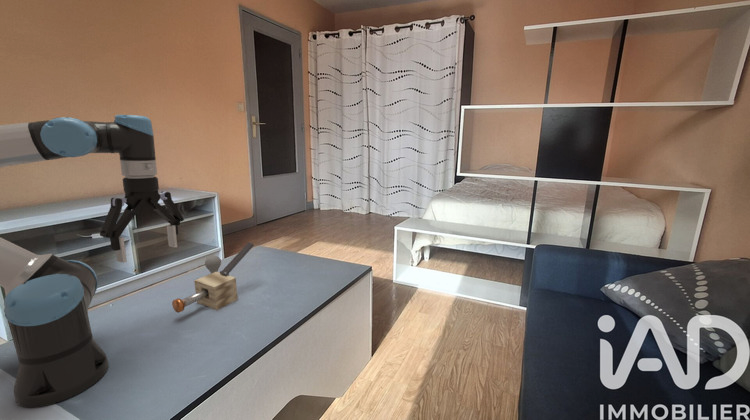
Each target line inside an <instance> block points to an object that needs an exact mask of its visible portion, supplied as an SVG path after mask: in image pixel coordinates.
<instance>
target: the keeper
mask: <svg viewBox="0 0 750 420" xmlns="http://www.w3.org/2000/svg"><path fill="white" fill-rule="evenodd" d="M253 247H255V245H254V243H252V242H247V243H246V244H245V245H244V247H242V249H241V250H240V251H239V252H238V253H237V254H236V255H235V256H234V257H233V259H231V261H230V262H229V263H228V264H227V265H226V266H225V267H224V268H223V269H222V270H220V272H219V273H220V274H222V275H225V276H228V275H229V276H230V273H231V272H232V271H233V270H234V269H235V267H236V266H237V265H238V264H240V262H241V261H242V259H243V258H244V257H245V256H246V255H247V254H248V253H249V252H250V251H251V250H252V249H253Z"/></svg>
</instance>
